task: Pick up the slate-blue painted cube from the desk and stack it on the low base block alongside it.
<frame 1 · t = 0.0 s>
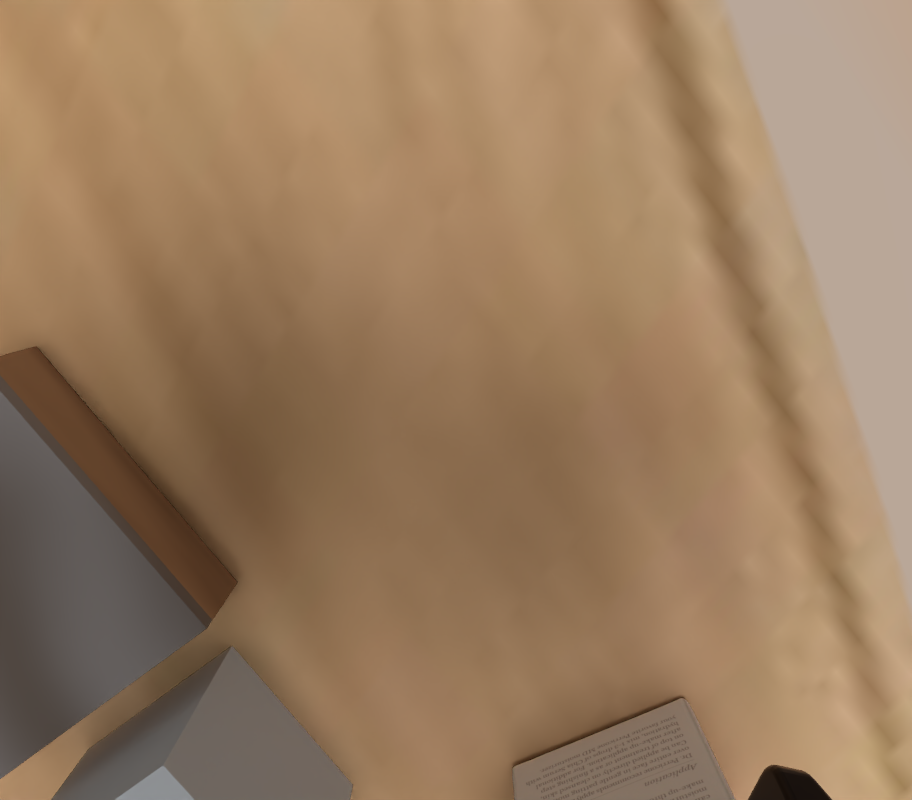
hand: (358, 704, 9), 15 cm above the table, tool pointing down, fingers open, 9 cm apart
cube: (221, 765, 27), on the table
base: (28, 553, 25), on the table
skincare box: (623, 778, 27), on the table
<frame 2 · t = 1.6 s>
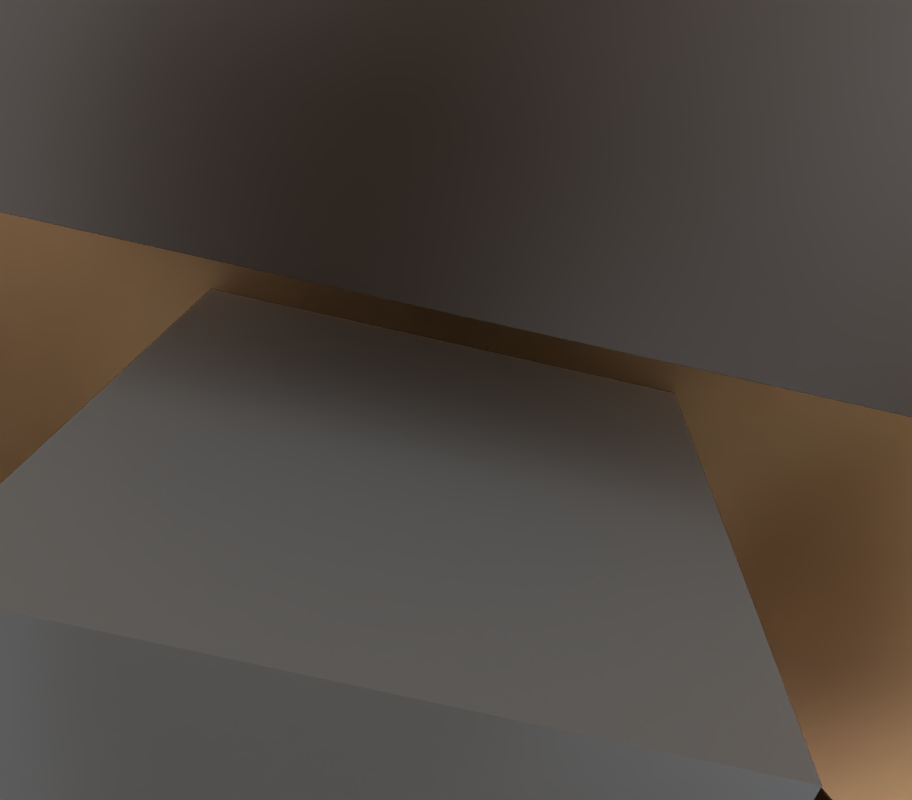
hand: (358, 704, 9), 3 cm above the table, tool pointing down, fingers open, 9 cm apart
cube: (402, 530, 12), on the table
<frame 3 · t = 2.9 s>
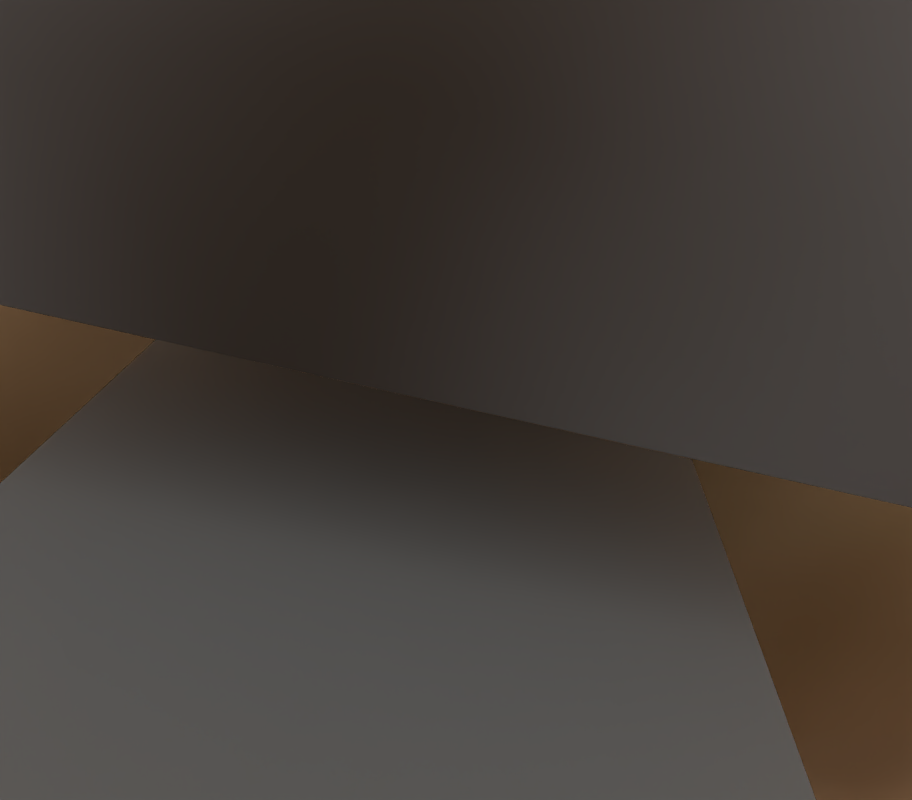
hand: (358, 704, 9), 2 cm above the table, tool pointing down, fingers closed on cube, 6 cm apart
cube: (379, 610, 11), on the table, touching gripper
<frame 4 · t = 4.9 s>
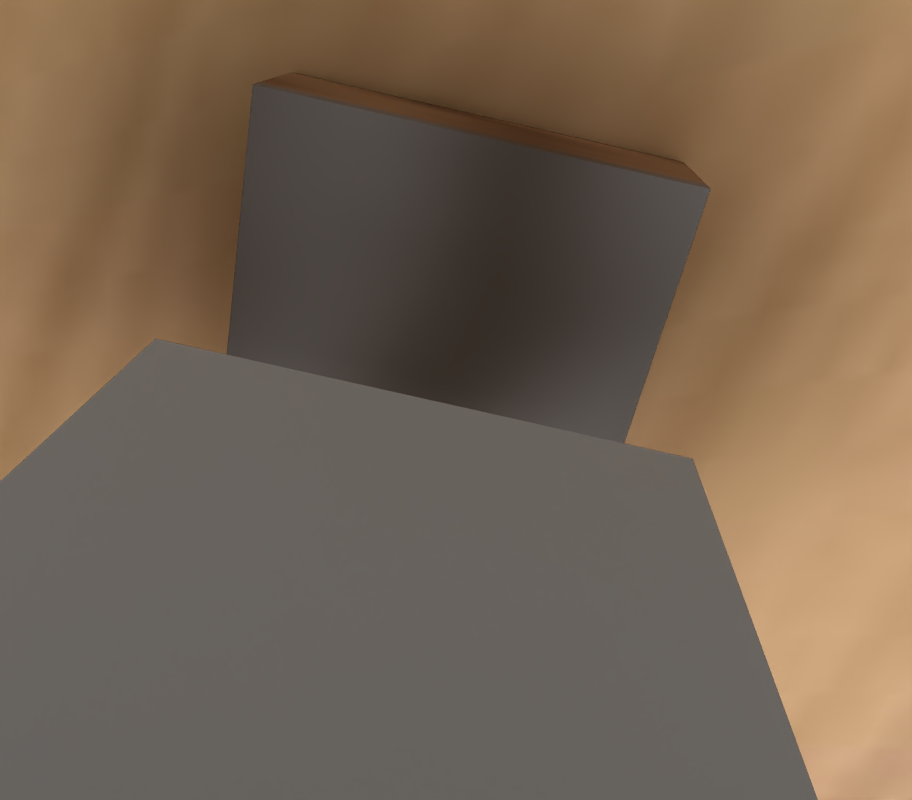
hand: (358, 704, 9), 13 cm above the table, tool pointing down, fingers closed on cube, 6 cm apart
cube: (380, 610, 10), point 11 cm above the table, touching gripper
base: (448, 304, 21), on the table
when the fingers open (5 cm above the table, at t = 7.1 s): cube stays where it is, resting on base.
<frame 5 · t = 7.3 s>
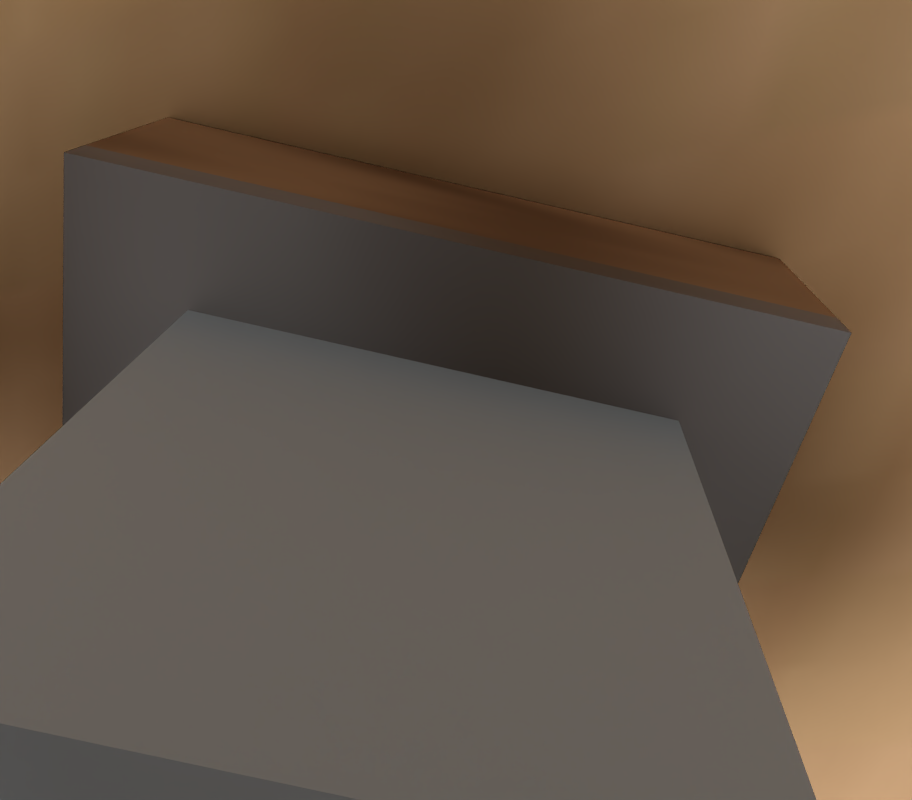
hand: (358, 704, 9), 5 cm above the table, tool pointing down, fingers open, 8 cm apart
cube: (391, 564, 11), point 3 cm above the table, touching base
base: (417, 454, 14), on the table
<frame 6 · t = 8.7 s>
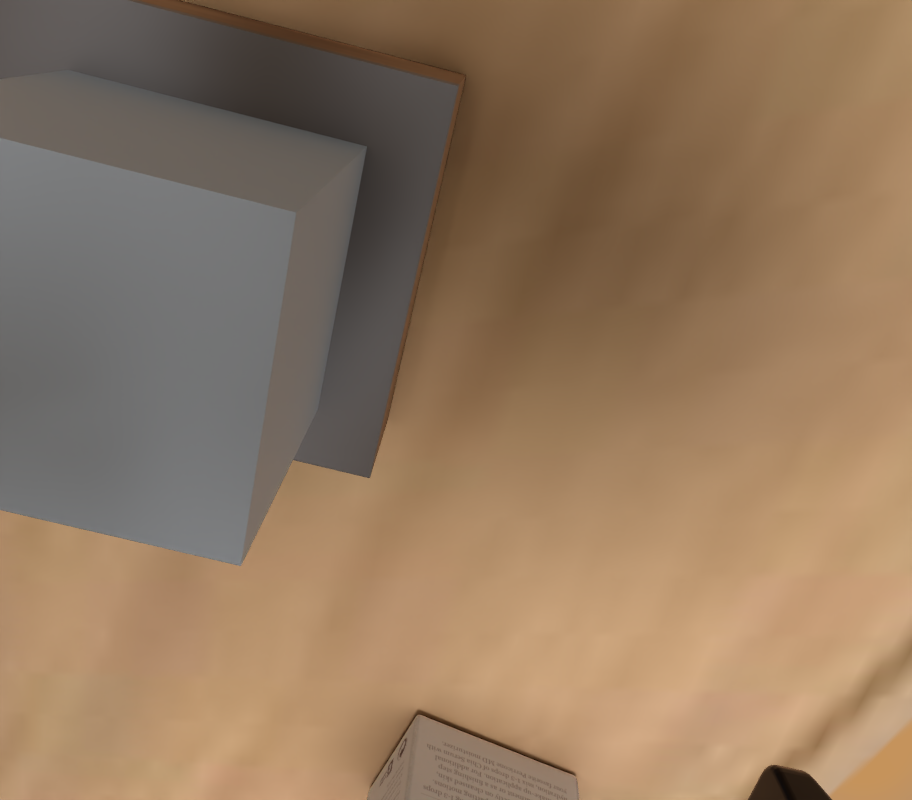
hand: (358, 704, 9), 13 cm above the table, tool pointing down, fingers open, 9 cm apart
cube: (202, 252, 18), point 3 cm above the table, touching base
base: (244, 219, 21), on the table
skincare box: (473, 777, 28), on the table
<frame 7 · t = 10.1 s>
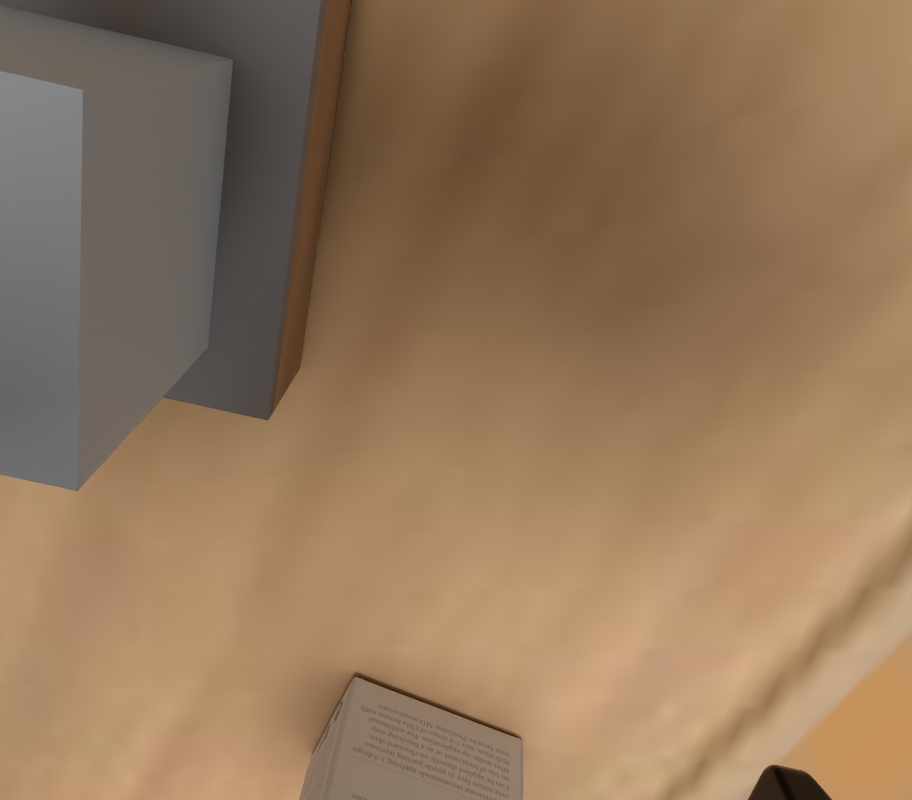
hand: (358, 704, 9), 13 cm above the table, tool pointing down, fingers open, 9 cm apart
cube: (74, 181, 17), point 3 cm above the table, touching base
base: (135, 155, 20), on the table
skincare box: (417, 742, 28), on the table
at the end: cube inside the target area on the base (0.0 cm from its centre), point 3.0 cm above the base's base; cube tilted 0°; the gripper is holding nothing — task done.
